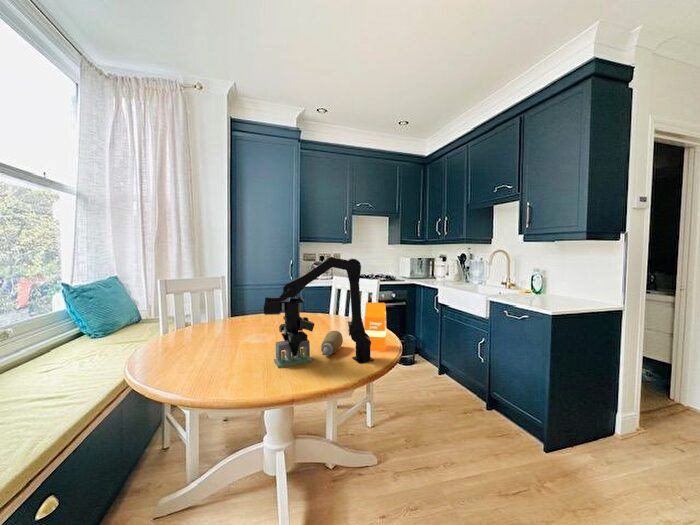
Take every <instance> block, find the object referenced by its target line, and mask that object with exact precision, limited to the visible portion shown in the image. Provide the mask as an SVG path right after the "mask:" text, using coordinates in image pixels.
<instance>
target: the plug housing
mask: <svg viewBox="0 0 700 525" xmlns="http://www.w3.org/2000/svg"><path fill="white" fill-rule="evenodd" d="M310 343H311V342H310V340H309V339H308V340H307V341H302V342H301V343H300V345H299V348H298V352H297V355H296V357H297V358H301V348H303V354H305V355H306V356H307V357H308V356H309V357H310V356H311V354H310V353H311V351H310V350H311V349H310ZM283 351H285V357H287V358H288V359H289V360H291V356H292V352H291V349H290V346H289V344H288V341H287V340H286V341H284V340H282V341H281V340H280V341H275V359H277V360H278V361H279V362H280V361H282V352H283Z"/></svg>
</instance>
